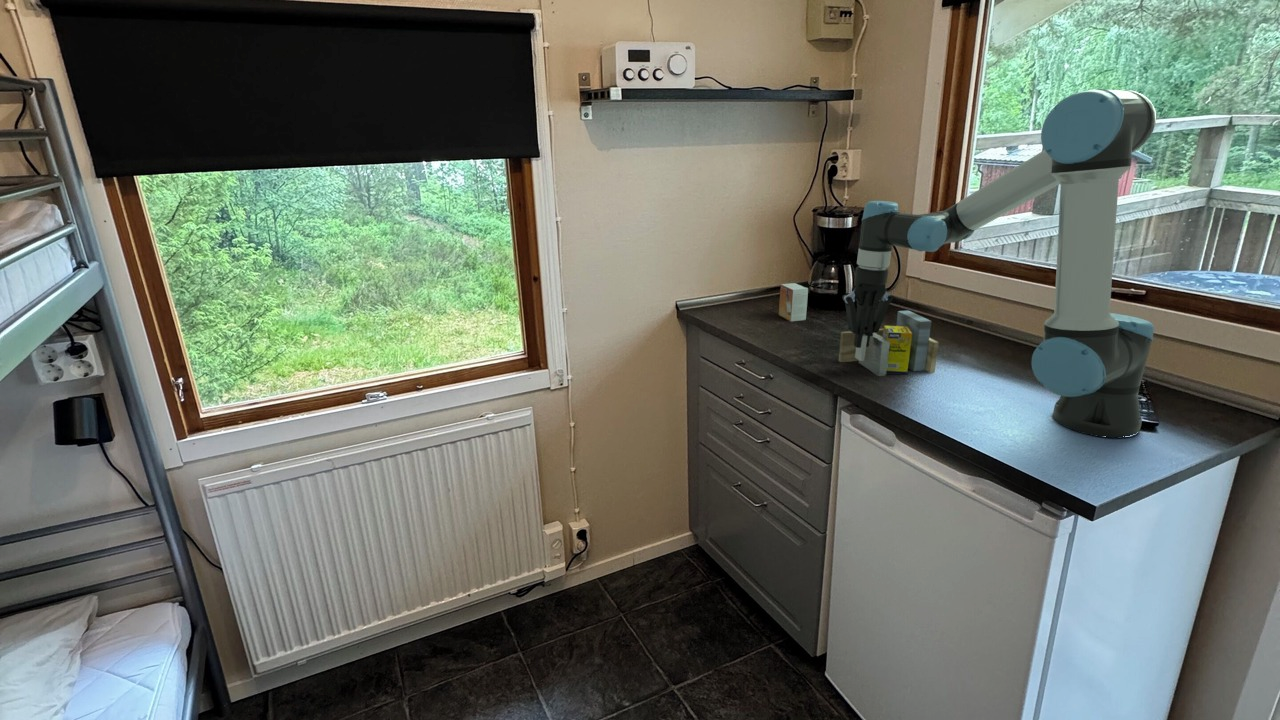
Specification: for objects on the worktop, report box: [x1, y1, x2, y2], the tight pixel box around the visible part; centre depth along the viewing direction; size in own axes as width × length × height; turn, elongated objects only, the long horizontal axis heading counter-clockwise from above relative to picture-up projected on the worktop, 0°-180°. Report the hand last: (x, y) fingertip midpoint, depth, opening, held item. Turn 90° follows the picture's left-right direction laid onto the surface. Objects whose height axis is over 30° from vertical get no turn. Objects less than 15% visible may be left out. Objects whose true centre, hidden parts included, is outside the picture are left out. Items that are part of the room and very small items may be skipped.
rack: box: [838, 310, 939, 374], centre depth 168 cm, size 14×19×13 cm
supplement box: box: [882, 325, 912, 375], centre depth 166 cm, size 6×6×11 cm
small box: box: [778, 282, 809, 323], centre depth 212 cm, size 8×6×10 cm
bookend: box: [858, 333, 890, 377], centre depth 167 cm, size 10×2×9 cm, turn 11°
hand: (859, 359), depth 167 cm, fingers closed
